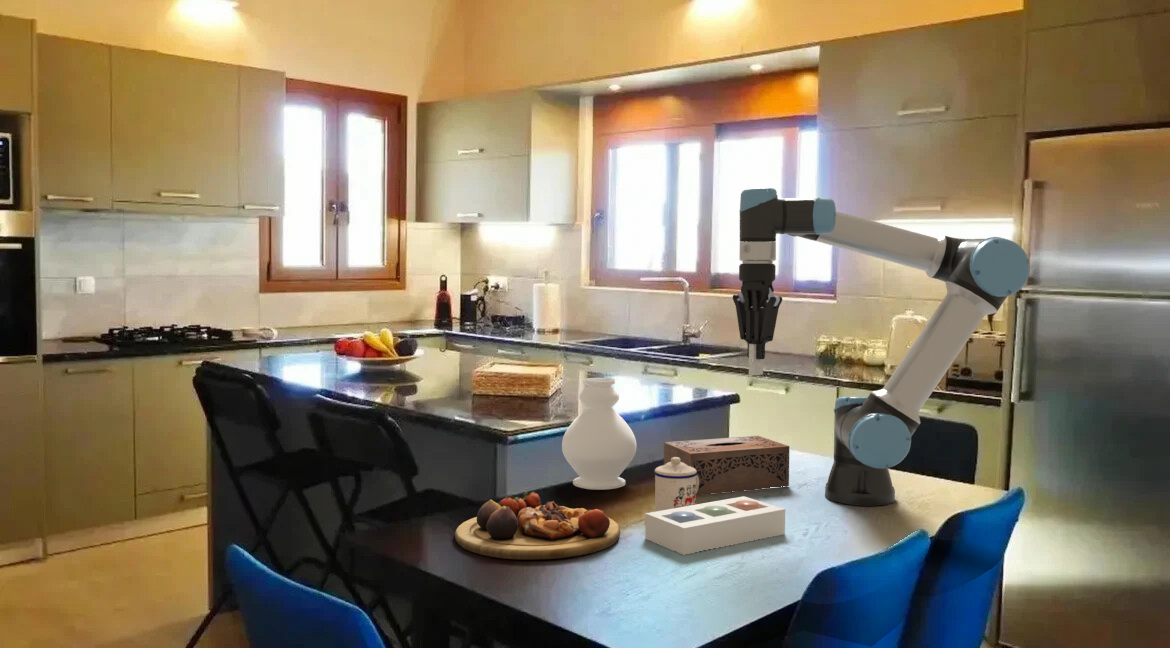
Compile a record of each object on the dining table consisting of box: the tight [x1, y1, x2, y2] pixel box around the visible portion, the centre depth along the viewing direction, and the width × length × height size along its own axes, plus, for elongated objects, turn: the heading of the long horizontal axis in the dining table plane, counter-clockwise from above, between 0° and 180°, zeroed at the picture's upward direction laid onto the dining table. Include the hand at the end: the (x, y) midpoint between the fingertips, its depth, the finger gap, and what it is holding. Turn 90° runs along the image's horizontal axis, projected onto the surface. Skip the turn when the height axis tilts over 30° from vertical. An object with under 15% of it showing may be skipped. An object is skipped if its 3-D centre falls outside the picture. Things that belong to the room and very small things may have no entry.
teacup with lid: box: [653, 457, 699, 512], centre depth 207 cm, size 12×9×12 cm
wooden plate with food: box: [454, 490, 621, 561], centre depth 188 cm, size 32×32×8 cm
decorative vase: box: [561, 377, 637, 491], centre depth 231 cm, size 18×18×25 cm
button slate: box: [671, 511, 695, 523], centre depth 183 cm, size 5×5×4 cm
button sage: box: [704, 506, 728, 517], centre depth 187 cm, size 5×5×4 cm
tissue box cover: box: [663, 435, 790, 496], centre depth 230 cm, size 26×14×10 cm, turn 110°
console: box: [644, 495, 786, 556], centre depth 188 cm, size 25×12×5 cm, turn 122°
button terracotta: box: [735, 500, 759, 511], centre depth 192 cm, size 5×5×4 cm
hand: (755, 374), depth 204 cm, fingers closed
